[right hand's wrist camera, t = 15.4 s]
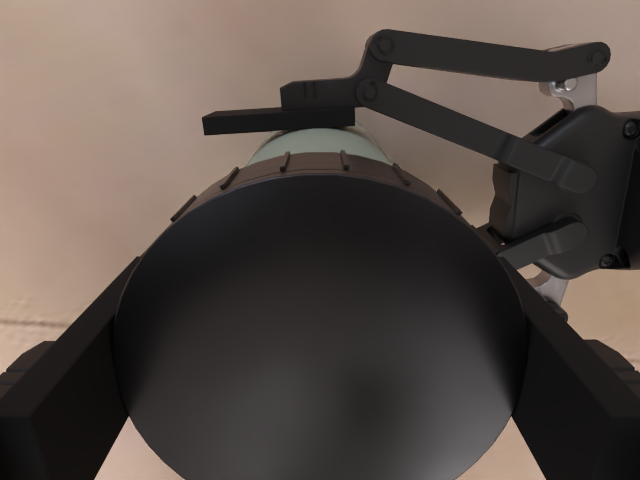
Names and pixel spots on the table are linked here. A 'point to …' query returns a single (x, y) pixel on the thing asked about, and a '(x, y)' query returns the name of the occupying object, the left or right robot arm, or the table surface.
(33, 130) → the table surface
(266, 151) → the jar
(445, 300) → the lid
